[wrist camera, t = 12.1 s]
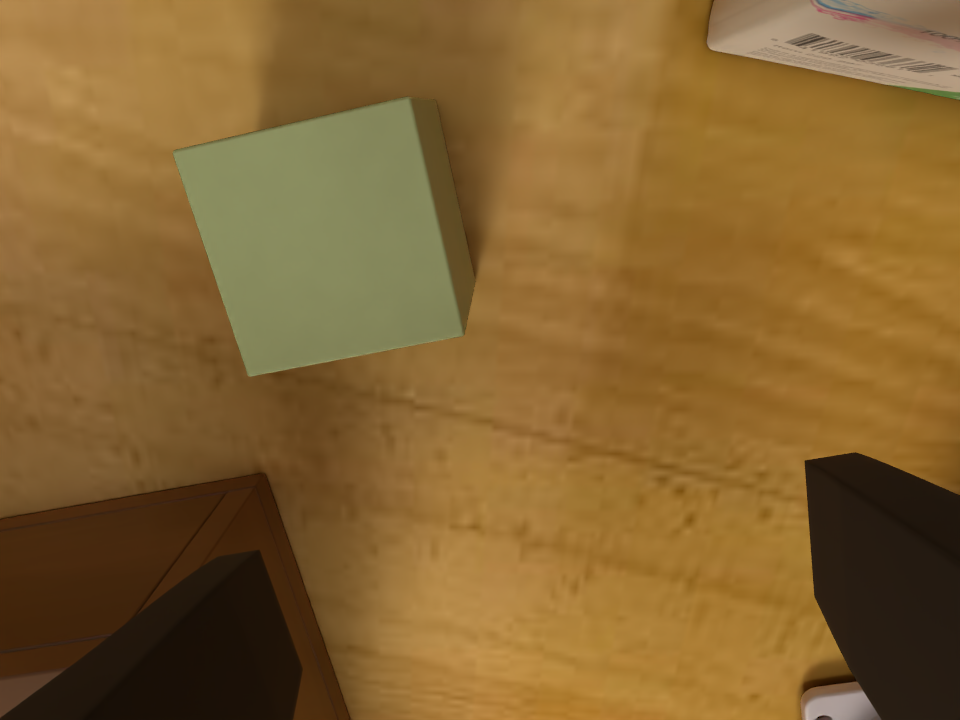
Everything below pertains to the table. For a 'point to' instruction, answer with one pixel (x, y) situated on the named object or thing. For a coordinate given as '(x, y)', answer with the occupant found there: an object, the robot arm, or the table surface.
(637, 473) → the table surface
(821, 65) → the ink box
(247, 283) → the box
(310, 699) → the cabinet
